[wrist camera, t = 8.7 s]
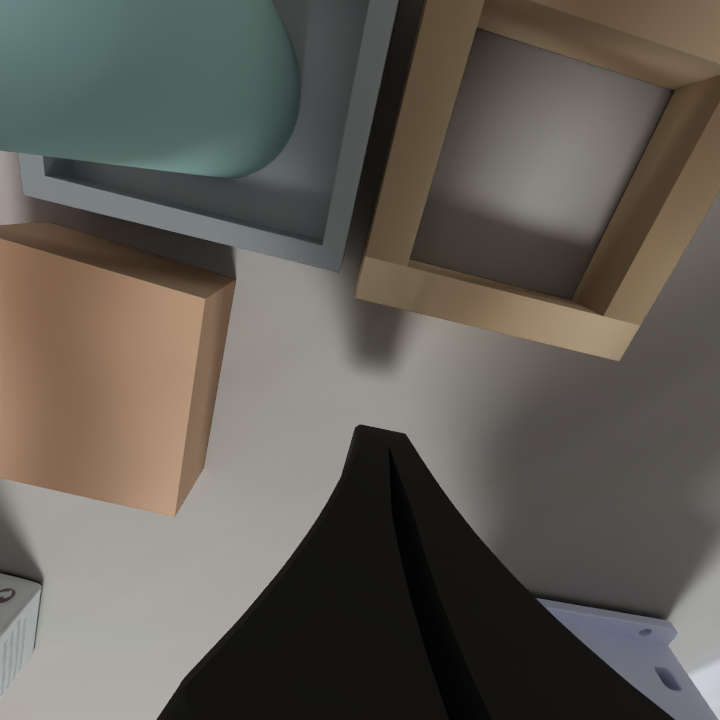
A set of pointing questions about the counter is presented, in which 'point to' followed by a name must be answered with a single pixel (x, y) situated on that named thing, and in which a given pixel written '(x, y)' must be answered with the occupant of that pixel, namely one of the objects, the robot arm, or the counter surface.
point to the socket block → (637, 206)
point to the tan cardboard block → (106, 366)
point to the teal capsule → (148, 83)
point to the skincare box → (16, 626)
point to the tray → (283, 175)
